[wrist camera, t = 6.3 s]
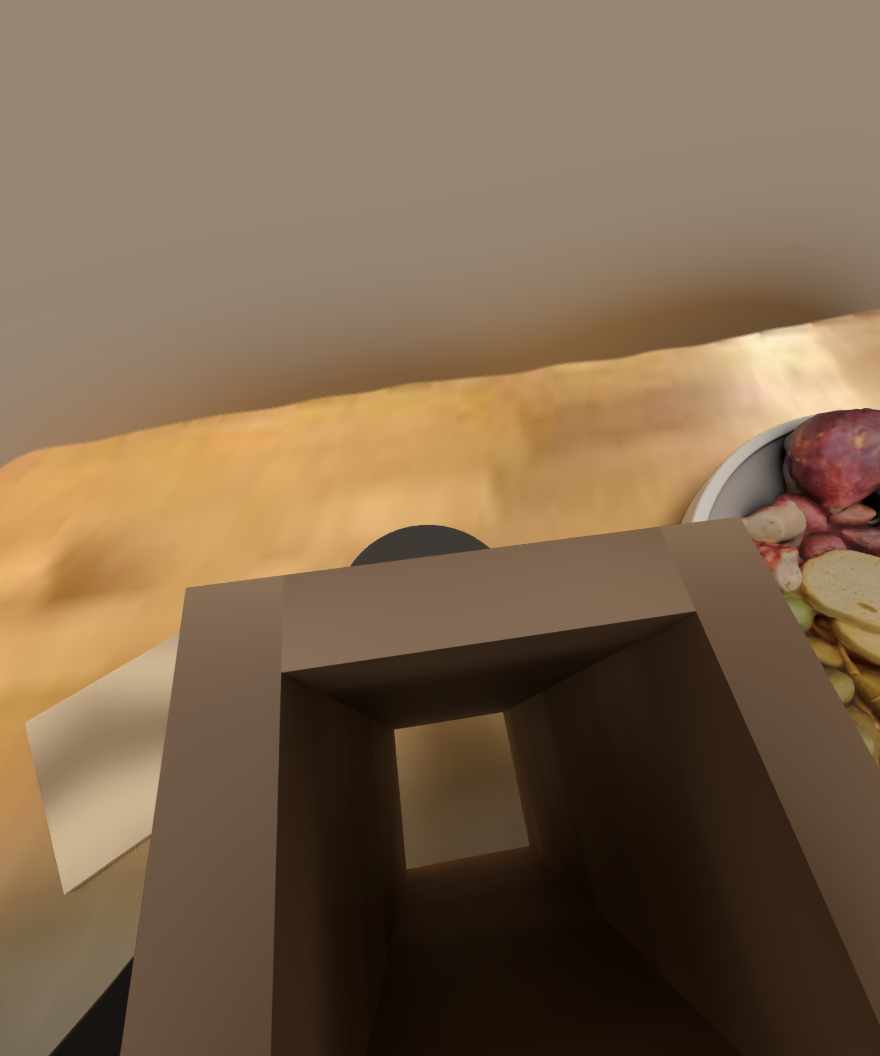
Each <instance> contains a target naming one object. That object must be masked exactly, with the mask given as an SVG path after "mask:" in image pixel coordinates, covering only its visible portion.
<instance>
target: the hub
mask: <svg viewBox="0 0 880 1056" xmlns="http://www.w3.org/2000/svg"><path fill="white" fill-rule="evenodd" d="M483 549H490V548H489V547H487V546H486V545H485V544H484V543H482V542H481V541H479V540H478V539H476V538H475V537H473V536H471V535H469V534H467V533H465V532H462V531H459V530H456V529H454V528H449V527H445V526H437V525H419V526H411V527H407V528H403V529H399V530H396V531H394V532H391V533H389V534H387V535H385V536H383V537H381V538H379V539H378V540H376V541H375V542H373V543H372V544H370V545H369V546H368V547H367V548H366V549H365V550H364V551H362V552H361V554H360V555H359V556H358V557H357V558H356V559H355V560H354V562H353V563H352V565H351V566H350V567H352V566H360V565H367V564H375V563H383V562H391V561H398V560H406V559H414V558H422V557H429V556H437V555H445V554H452V553H460V552H468V551H476V550H483Z"/></svg>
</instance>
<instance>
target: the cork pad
mask: <svg viewBox="0 0 880 1056" xmlns="http://www.w3.org/2000/svg"><path fill="white" fill-rule="evenodd" d="M179 634H180V633H178V634H176V635H175V636H173V637H171V638H170V639H168V640H166V641H164V642H163V643H161V644H159V645H158V646H156V647H154V648H152V649H151V650H149V651H147V652H146V653H144V654H142V655H140V656H139V657H137V658H135V659H133V660H132V661H130V662H128V663H127V664H125V665H123V666H121V667H120V668H118V669H116V670H115V671H113V672H111V673H109V674H108V675H106V676H104V677H103V678H101V679H99V680H97V681H96V682H94V683H92V684H90V685H89V686H87V687H85V688H84V689H82V690H80V691H78V692H77V693H75V694H73V695H72V696H70V697H68V698H66V699H65V700H63V701H61V702H60V703H58V704H56V705H54V706H53V707H51V708H49V709H48V710H46V711H44V712H42V713H41V714H39V715H37V716H35V717H34V718H32V719H30V720H29V721H27V722H25V727H26V731H27V736H28V740H29V744H30V749H31V753H32V757H33V762H34V766H35V770H36V775H37V779H38V783H39V788H40V792H41V796H42V801H43V805H44V809H45V814H46V818H47V822H48V827H49V831H50V835H51V840H52V844H53V848H54V853H55V857H56V861H57V866H58V870H59V874H60V879H61V883H62V887H63V892H64V895H65V894H67V893H70V892H73V891H74V890H76V889H77V888H79V887H80V886H81V885H83V884H84V883H86V882H87V881H88V880H90V879H91V878H93V877H94V876H95V875H97V874H98V873H100V872H101V871H103V870H104V869H105V868H107V867H108V866H110V865H111V864H112V863H114V862H115V861H117V860H118V859H119V858H121V857H122V856H124V855H125V854H127V853H128V852H129V851H131V850H132V849H134V848H135V847H136V846H138V845H139V844H141V843H142V842H144V841H145V840H146V839H148V838H149V837H151V833H152V826H153V819H154V812H155V805H156V797H157V790H158V783H159V776H160V769H161V762H162V755H163V748H164V741H165V734H166V726H167V719H168V712H169V705H170V698H171V691H172V684H173V677H174V670H175V663H176V655H177V648H178V641H179Z"/></svg>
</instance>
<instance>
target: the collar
mask: <svg viewBox="0 0 880 1056" xmlns="http://www.w3.org/2000/svg"><path fill="white" fill-rule="evenodd" d="M499 712H503V714H504V719H505V724H506V729H507V734H508V738H509V743H510V748H511V753H512V758H513V763H514V768H515V773H516V778H517V783H518V788H519V793H520V798H521V803H522V808H523V813H524V818H525V823H526V828H527V833H528V838H529V843H530V846H527V847H522V848H517V849H511V850H506V851H501V852H496V853H491V854H485V855H480V856H475V857H470V858H464V859H459V860H454V861H449V862H444V863H438V864H433V865H428V866H423V867H417V868H412V869H407V870H406V861H405V850H404V838H403V827H402V816H401V804H400V793H399V781H398V770H397V759H396V747H395V736H394V730H395V729H401V728H407V727H413V726H419V725H425V724H432V723H438V722H444V721H450V720H456V719H462V718H468V717H474V716H481V715H487V714H493V713H499ZM120 1056H880V769H879V767H878V766H877V764H876V762H875V760H874V758H873V757H872V755H871V753H870V751H869V749H868V748H867V746H866V744H865V742H864V740H863V739H862V737H861V735H860V733H859V731H858V729H857V728H856V726H855V724H854V722H853V720H852V719H851V717H850V715H849V713H848V711H847V710H846V708H845V706H844V704H843V702H842V701H841V699H840V697H839V695H838V693H837V692H836V690H835V688H834V686H833V684H832V682H831V681H830V679H829V677H828V675H827V673H826V672H825V670H824V668H823V666H822V664H821V663H820V661H819V659H818V657H817V655H816V654H815V652H814V650H813V648H812V646H811V645H810V643H809V641H808V639H807V637H806V635H805V634H804V632H803V630H802V628H801V626H800V625H799V623H798V621H797V619H796V617H795V616H794V614H793V612H792V610H791V608H790V607H789V605H788V603H787V601H786V599H785V598H784V596H783V594H782V592H781V590H780V588H779V587H778V585H777V583H776V581H775V579H774V578H773V576H772V574H771V572H770V570H769V569H768V567H767V565H766V563H765V561H764V560H763V558H762V556H761V554H760V552H759V551H758V549H757V547H756V545H755V543H754V541H753V540H752V538H751V536H750V534H749V532H748V531H747V529H746V527H745V525H744V523H743V522H742V520H741V518H740V516H739V517H731V518H723V519H715V520H708V521H700V522H692V523H685V524H677V525H669V526H661V527H654V528H646V529H638V530H630V531H623V532H615V533H607V534H599V535H592V536H584V537H576V538H568V539H561V540H553V541H545V542H538V543H530V544H522V545H514V546H507V547H499V548H491V549H483V550H476V551H468V552H460V553H452V554H445V555H437V556H429V557H422V558H414V559H406V560H398V561H391V562H383V563H375V564H367V565H360V566H352V567H344V568H336V569H329V570H321V571H313V572H306V573H298V574H290V575H282V576H275V577H267V578H259V579H251V580H244V581H236V582H228V583H220V584H213V585H205V586H197V587H189V588H186V592H185V599H184V606H183V613H182V620H181V627H180V634H179V641H178V648H177V655H176V663H175V670H174V677H173V684H172V691H171V698H170V705H169V712H168V719H167V726H166V734H165V741H164V748H163V755H162V762H161V769H160V776H159V783H158V790H157V797H156V805H155V812H154V819H153V826H152V833H151V840H150V847H149V854H148V861H147V868H146V876H145V883H144V890H143V897H142V904H141V911H140V918H139V925H138V932H137V939H136V947H135V954H134V961H133V968H132V975H131V982H130V989H129V996H128V1003H127V1010H126V1018H125V1025H124V1032H123V1039H122V1046H121V1053H120Z"/></svg>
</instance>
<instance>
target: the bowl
mask: <svg viewBox="0 0 880 1056" xmlns="http://www.w3.org/2000/svg"><path fill="white" fill-rule="evenodd" d="M739 516H740V518H741V520H742V522H743V523H744V525H745V527H746V529H747V531H748V532H749V534H750V536H751V538H752V540H753V541H754V543H755V545H756V547H757V549H758V551H759V552H760V554H761V556H762V558H763V560H764V561H765V563H766V565H767V567H768V569H769V570H770V572H771V574H772V576H773V578H774V579H775V581H776V583H777V585H778V587H779V588H780V590H781V592H782V594H783V596H784V598H785V599H786V601H787V603H788V605H789V607H790V608H791V610H792V612H793V614H794V616H795V617H796V619H797V621H798V623H799V625H800V626H801V628H802V630H803V632H804V634H805V635H806V637H807V639H808V641H809V643H810V645H811V646H812V648H813V650H814V652H815V654H816V655H817V657H818V659H819V661H820V663H821V664H822V666H823V668H824V670H825V672H826V673H827V675H828V677H829V679H830V681H831V682H832V684H833V686H834V688H835V690H836V692H837V693H838V695H839V697H840V699H841V701H842V702H843V704H844V706H845V708H846V710H847V711H848V713H849V715H850V717H851V719H852V720H853V722H854V724H855V726H856V728H857V729H858V731H859V733H860V735H861V737H862V739H863V740H864V742H865V744H866V746H867V748H868V749H869V751H870V753H871V755H872V757H873V758H874V760H875V762H876V764H877V766H878V767H879V769H880V410H873V409H869V408H864V409H853V410H838V411H831V412H827V413H820V414H816V415H811V416H807V417H803V418H799V419H795V420H792V421H789V422H786V423H783V424H781V425H778V426H776V427H773V428H771V429H769V430H767V431H765V432H763V433H761V434H759V435H757V436H756V437H754V438H753V439H751V440H750V441H748V442H746V443H745V444H744V445H742V446H741V447H740V448H739V449H737V450H736V451H735V452H734V453H733V454H732V455H730V456H729V457H728V458H727V459H726V460H725V461H724V462H723V463H722V464H721V465H720V466H719V467H718V468H717V469H716V470H715V471H714V473H713V474H712V475H711V476H710V477H709V478H708V479H707V481H706V482H705V483H704V484H703V486H702V487H701V489H700V490H699V491H698V493H697V494H696V496H695V497H694V499H693V501H692V503H691V504H690V506H689V508H688V510H687V512H686V514H685V516H684V518H683V520H682V523H681V524H685V523H692V522H700V521H708V520H715V519H723V518H731V517H739Z"/></svg>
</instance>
